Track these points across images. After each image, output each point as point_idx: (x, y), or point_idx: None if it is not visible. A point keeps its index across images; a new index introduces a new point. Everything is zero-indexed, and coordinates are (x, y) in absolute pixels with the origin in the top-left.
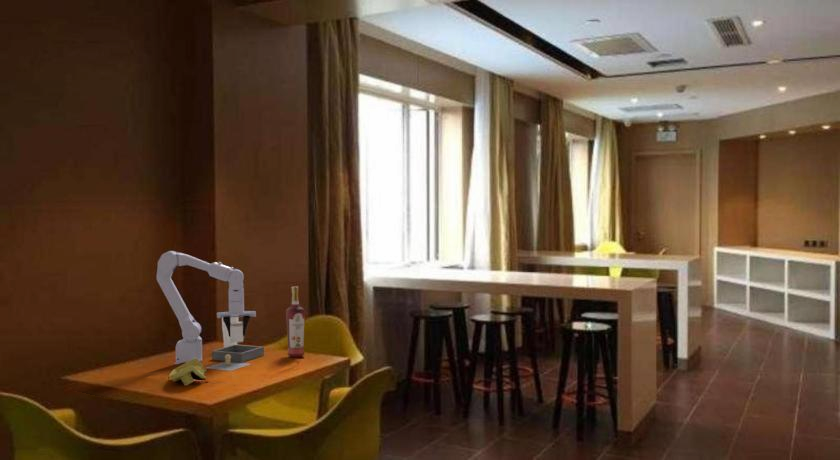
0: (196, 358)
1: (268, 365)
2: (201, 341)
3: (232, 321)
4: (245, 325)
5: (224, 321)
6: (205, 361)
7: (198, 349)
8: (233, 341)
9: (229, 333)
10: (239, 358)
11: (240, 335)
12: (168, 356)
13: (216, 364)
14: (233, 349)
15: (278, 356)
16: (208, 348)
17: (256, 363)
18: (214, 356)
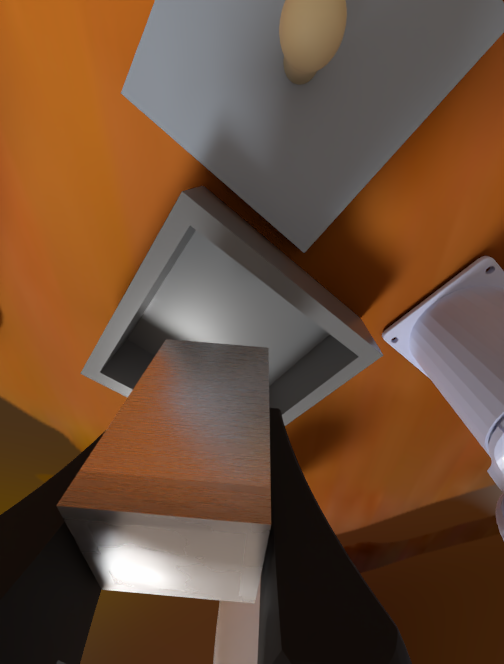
0: (476, 303)
1: (23, 122)
2: (499, 404)
3: (245, 622)
4: (53, 489)
5: (383, 620)
6: (382, 353)
7: (499, 341)
8: (243, 349)
9: (276, 428)
10: (211, 204)
11: (165, 375)
12: (484, 465)
13: (375, 163)
14: None
15: (54, 350)
16: (325, 510)
17: (123, 221)
18: (359, 326)
